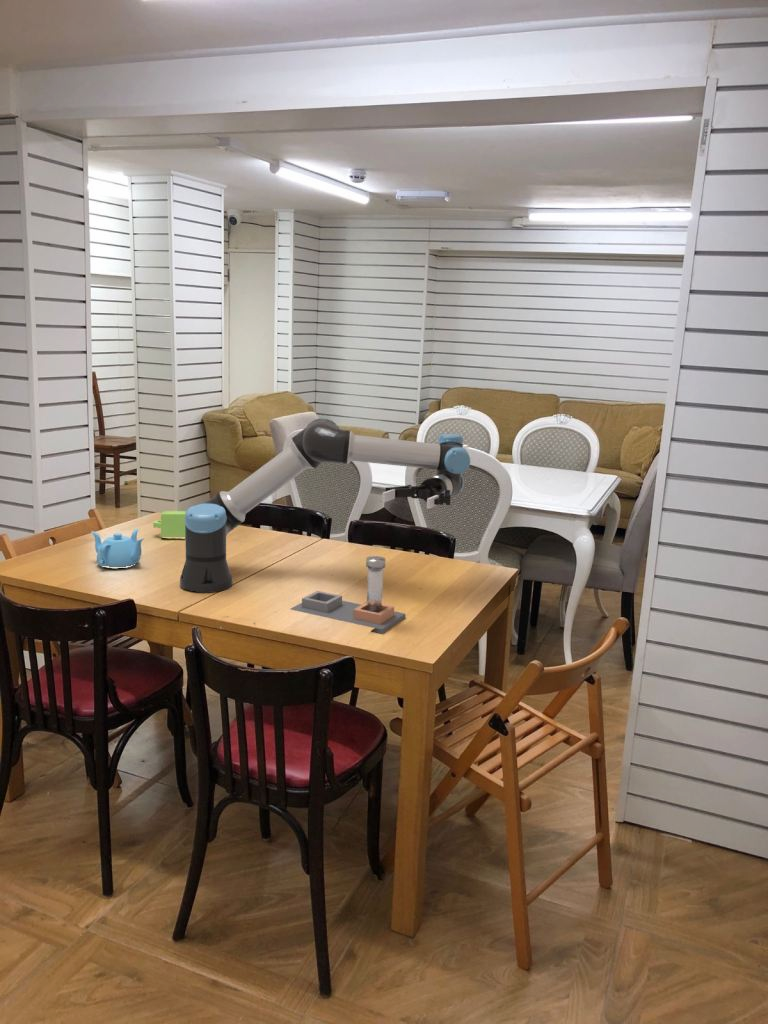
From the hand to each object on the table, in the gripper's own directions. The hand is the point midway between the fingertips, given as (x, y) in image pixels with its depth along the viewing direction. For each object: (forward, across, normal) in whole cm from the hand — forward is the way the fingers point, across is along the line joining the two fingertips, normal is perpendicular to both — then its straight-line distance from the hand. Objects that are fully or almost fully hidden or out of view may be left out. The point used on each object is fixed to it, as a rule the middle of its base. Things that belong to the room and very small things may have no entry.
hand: (405, 500), depth 215 cm
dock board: (+17, +8, -30) cm, 35 cm away
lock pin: (+17, 0, -29) cm, 33 cm away
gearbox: (-23, +101, -30) cm, 108 cm away
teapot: (+15, +92, -30) cm, 98 cm away
